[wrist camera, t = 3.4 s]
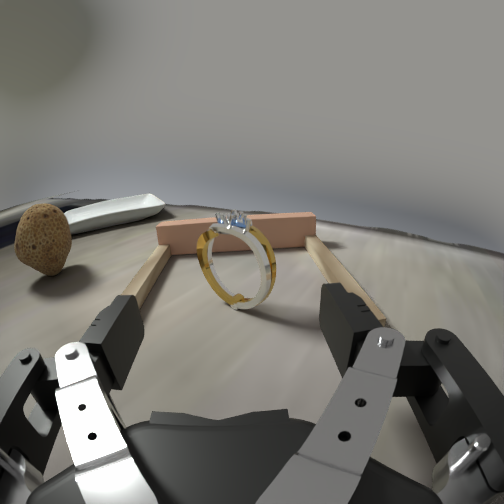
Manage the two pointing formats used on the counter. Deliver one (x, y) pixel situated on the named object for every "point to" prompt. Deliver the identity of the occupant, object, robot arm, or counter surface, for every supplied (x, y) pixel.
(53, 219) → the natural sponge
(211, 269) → the ring
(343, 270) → the birch track
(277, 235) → the bar
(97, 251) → the counter surface
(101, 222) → the square plate
